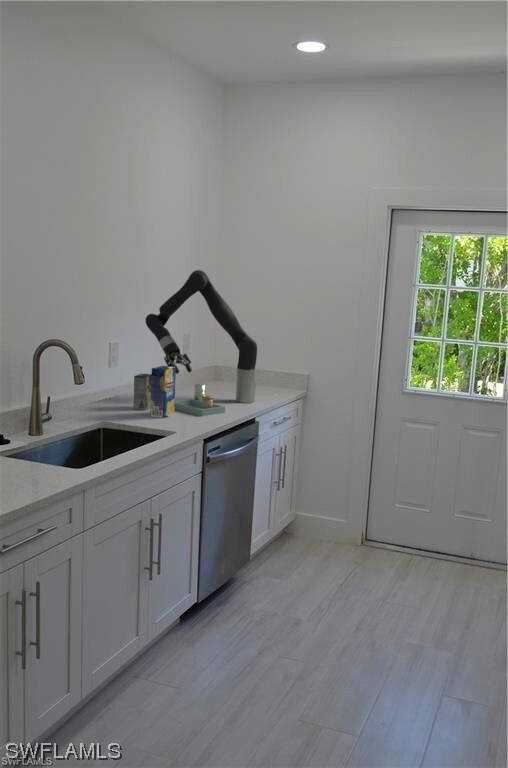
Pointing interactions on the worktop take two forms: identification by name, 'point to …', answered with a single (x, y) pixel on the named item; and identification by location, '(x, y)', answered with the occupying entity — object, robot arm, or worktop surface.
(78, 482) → the worktop surface
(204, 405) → the pestle
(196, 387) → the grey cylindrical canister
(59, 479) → the worktop surface
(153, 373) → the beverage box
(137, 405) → the coffee box
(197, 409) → the tray
